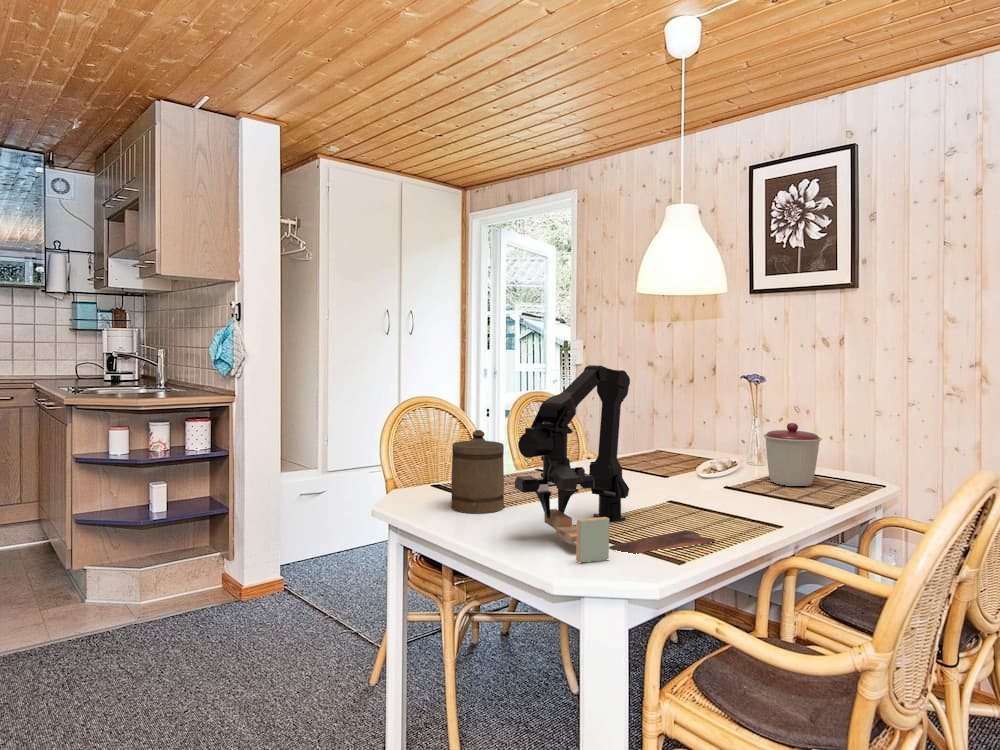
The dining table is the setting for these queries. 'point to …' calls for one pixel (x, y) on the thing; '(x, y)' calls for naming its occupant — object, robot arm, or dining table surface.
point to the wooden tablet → (662, 542)
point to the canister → (792, 456)
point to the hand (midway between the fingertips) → (554, 517)
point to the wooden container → (477, 475)
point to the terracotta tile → (592, 539)
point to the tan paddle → (562, 524)
